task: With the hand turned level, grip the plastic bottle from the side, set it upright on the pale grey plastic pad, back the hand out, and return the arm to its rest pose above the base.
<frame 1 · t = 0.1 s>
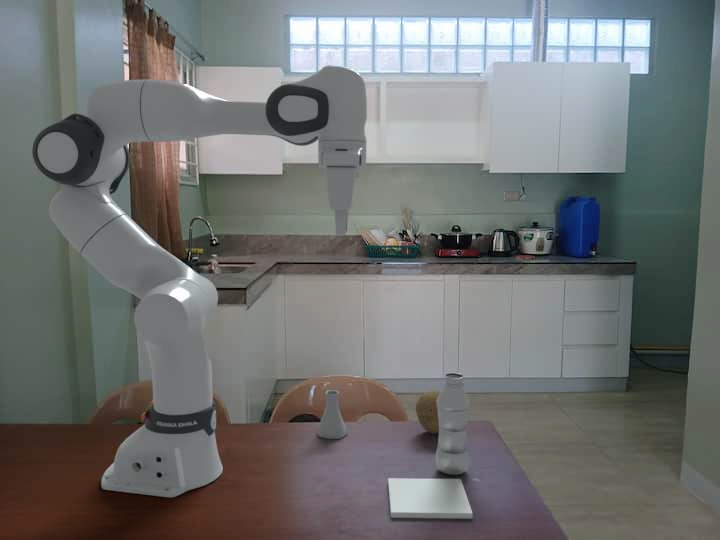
hand: (341, 233, 109), 48 cm above the table, tool pointing down, fingers open, 8 cm apart
natural sponge: (434, 433, 136), on the table
flask: (332, 434, 135), on the table
plastic bottle: (451, 472, 117), on the table
bottle pad: (427, 499, 106), on the table
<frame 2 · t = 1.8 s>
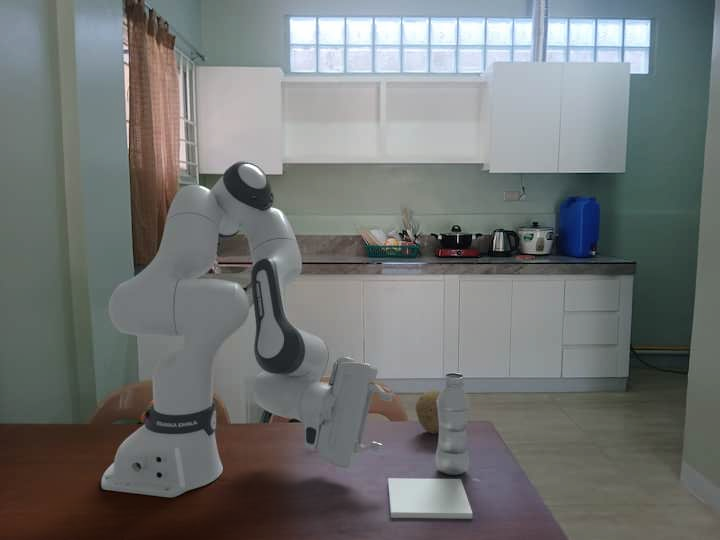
hand: (385, 422, 110), 12 cm above the table, tool horizontal, fingers open, 8 cm apart
nothing on the table moved.
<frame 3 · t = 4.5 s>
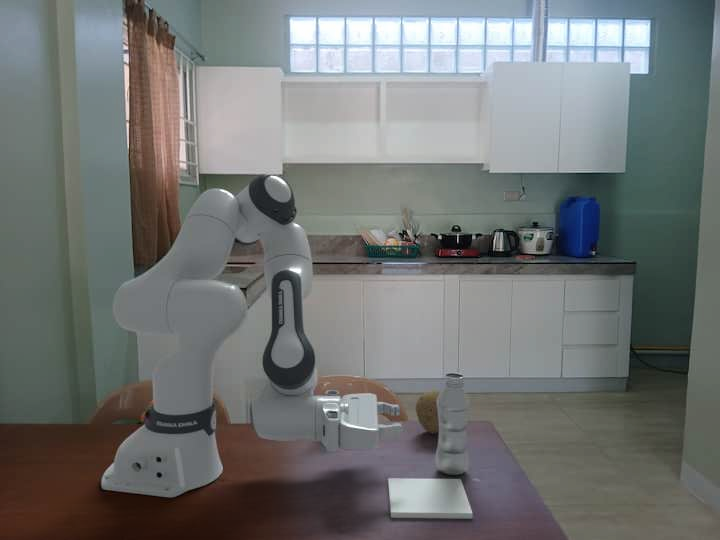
hand: (401, 419, 116), 11 cm above the table, tool horizontal, fingers open, 8 cm apart
nothing on the table moved.
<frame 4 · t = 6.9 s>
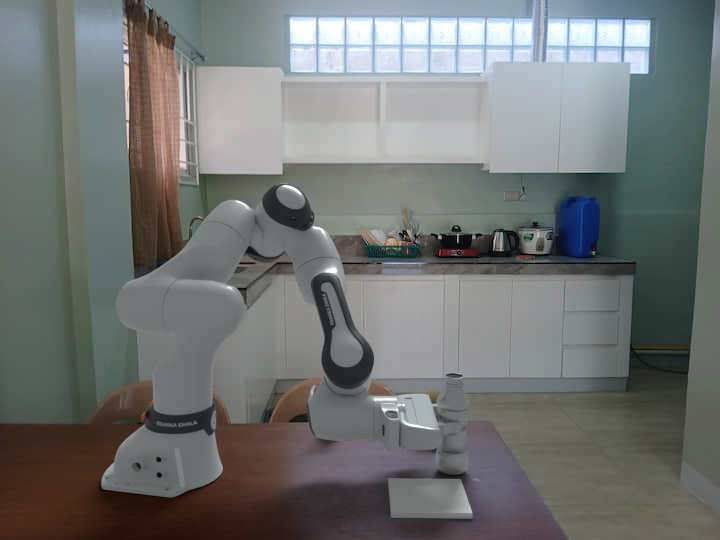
hand: (457, 419, 115), 11 cm above the table, tool horizontal, fingers closed on plastic bottle, 6 cm apart
plastic bottle: (451, 472, 117), on the table, touching gripper
everything else where it was.
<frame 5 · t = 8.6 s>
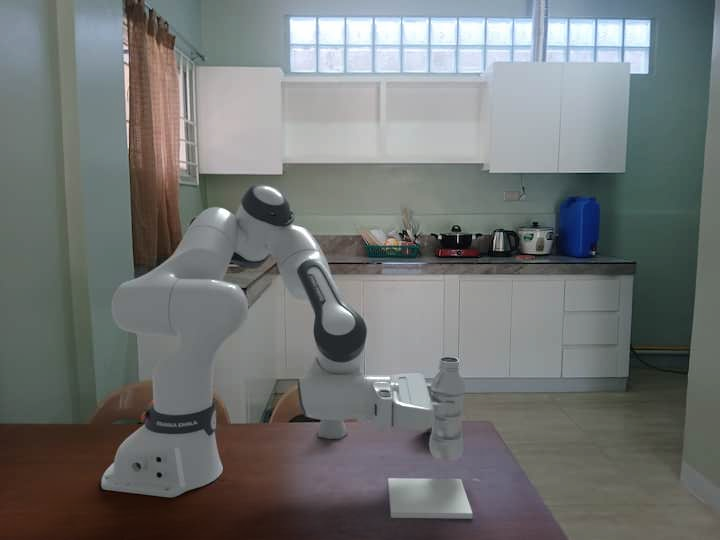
hand: (452, 399, 112), 16 cm above the table, tool horizontal, fingers closed on plastic bottle, 6 cm apart
plastic bottle: (445, 458, 114), point 4 cm above the table, touching gripper
everything else where it was.
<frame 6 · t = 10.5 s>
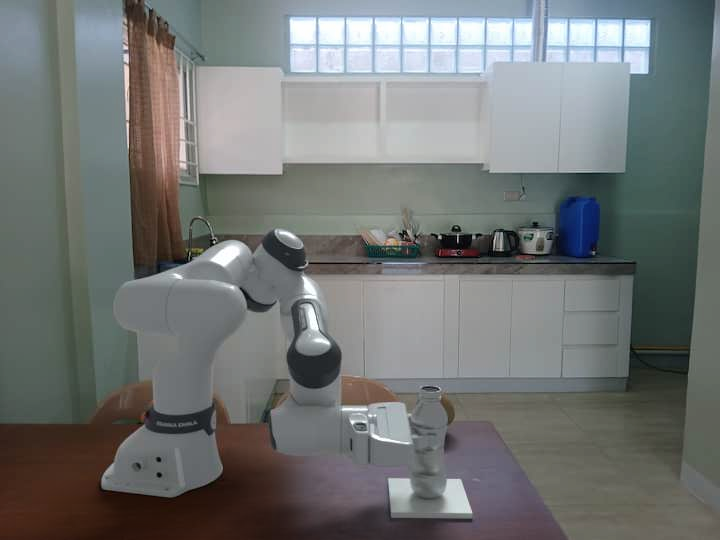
hand: (435, 430, 104), 13 cm above the table, tool horizontal, fingers closed on plastic bottle, 6 cm apart
plastic bottle: (427, 495, 106), point 1 cm above the table, touching bottle pad, gripper
everything else where it was.
when the fingers open (13 cm above the table, at t = 10.7 s): plastic bottle stays where it is, resting on bottle pad.
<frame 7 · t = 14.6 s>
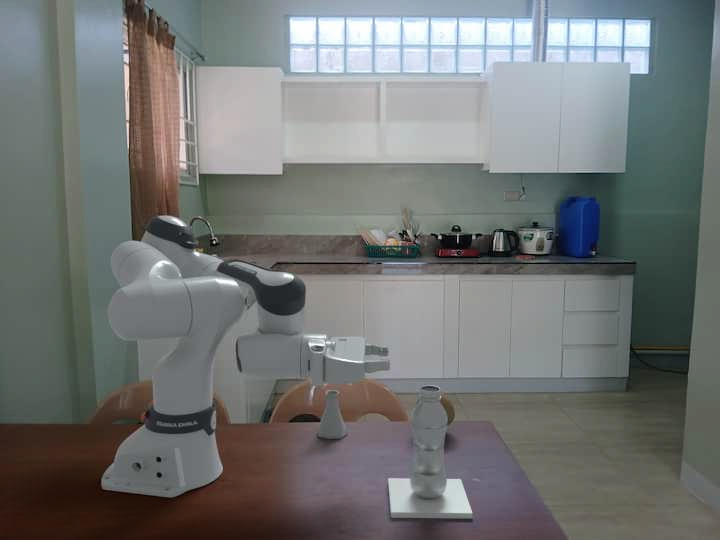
hand: (389, 357, 113), 24 cm above the table, tool horizontal, fingers open, 8 cm apart
plastic bottle: (427, 495, 106), point 1 cm above the table, touching bottle pad
everything else where it was.
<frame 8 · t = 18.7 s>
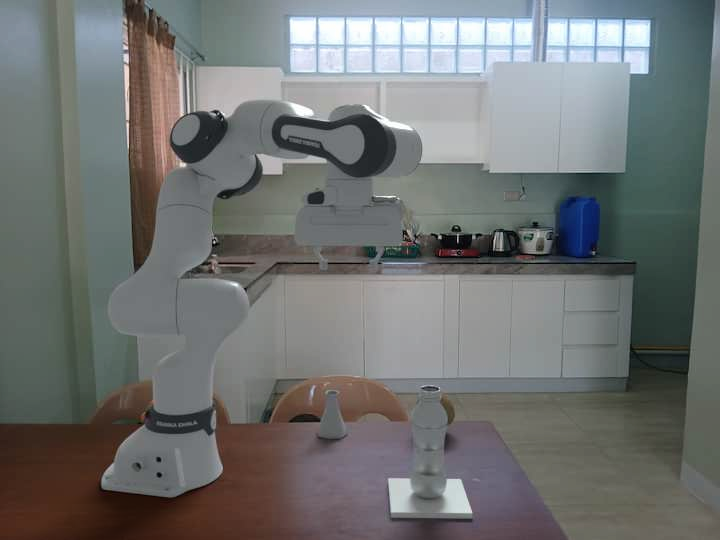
hand: (348, 269, 110), 41 cm above the table, tool pointing down, fingers open, 8 cm apart
nothing on the table moved.
at the end: plastic bottle inside the target area on the bottle pad (0.2 cm from its centre), point 0.8 cm above the bottle pad's base; plastic bottle tilted 0°; the gripper is holding nothing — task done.
